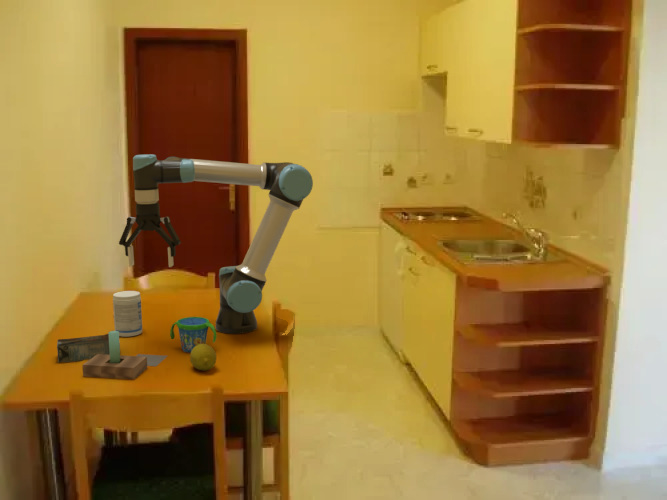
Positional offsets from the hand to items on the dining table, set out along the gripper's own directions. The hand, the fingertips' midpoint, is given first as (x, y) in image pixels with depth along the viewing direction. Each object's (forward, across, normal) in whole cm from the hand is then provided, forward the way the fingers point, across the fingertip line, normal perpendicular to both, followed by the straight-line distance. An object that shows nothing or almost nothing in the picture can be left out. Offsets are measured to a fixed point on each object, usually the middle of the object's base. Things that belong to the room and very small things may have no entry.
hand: (151, 266), depth 246 cm
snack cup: (+28, -14, +3) cm, 32 cm away
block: (+27, +3, +27) cm, 39 cm away
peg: (+27, +3, +27) cm, 39 cm away
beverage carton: (+28, +18, +13) cm, 36 cm away
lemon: (+28, -22, +20) cm, 41 cm away
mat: (+28, -2, +16) cm, 32 cm away
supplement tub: (+28, +15, -12) cm, 34 cm away
